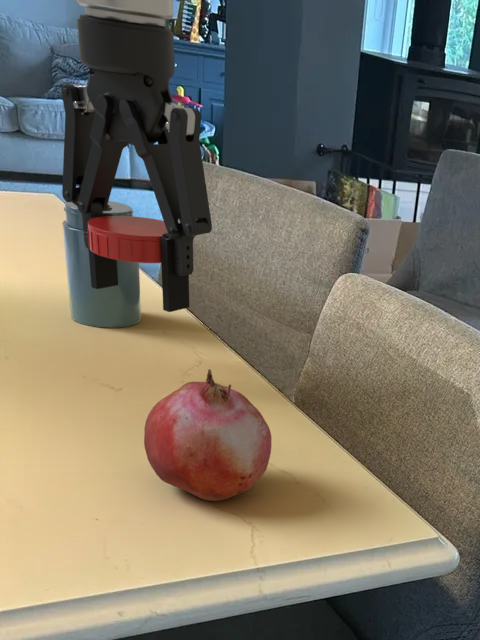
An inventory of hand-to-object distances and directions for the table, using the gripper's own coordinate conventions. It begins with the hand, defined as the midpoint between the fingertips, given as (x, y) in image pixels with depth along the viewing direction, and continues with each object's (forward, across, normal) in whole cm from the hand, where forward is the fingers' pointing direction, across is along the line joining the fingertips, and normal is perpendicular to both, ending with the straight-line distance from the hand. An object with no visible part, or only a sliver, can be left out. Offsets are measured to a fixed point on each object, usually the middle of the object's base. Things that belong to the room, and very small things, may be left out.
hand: (140, 297), depth 85 cm
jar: (+7, -15, +10) cm, 19 cm away
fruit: (+8, +21, -15) cm, 27 cm away
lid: (-6, 0, 0) cm, 6 cm away
